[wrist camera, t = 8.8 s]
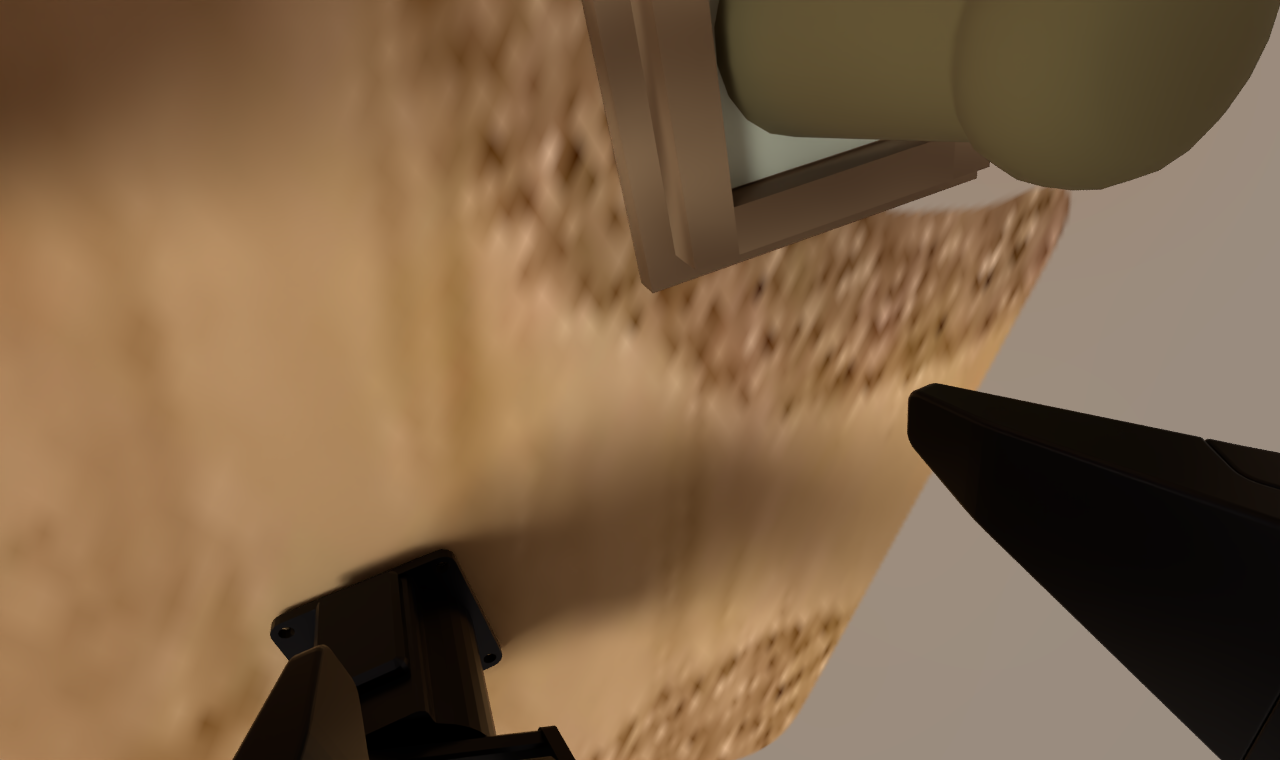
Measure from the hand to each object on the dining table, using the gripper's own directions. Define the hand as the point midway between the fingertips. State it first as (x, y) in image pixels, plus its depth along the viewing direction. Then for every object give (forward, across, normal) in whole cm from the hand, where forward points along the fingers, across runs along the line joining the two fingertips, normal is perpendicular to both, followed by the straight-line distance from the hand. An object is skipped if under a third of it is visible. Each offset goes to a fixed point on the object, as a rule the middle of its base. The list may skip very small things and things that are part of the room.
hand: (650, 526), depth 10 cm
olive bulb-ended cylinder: (+12, -11, -4) cm, 17 cm away
